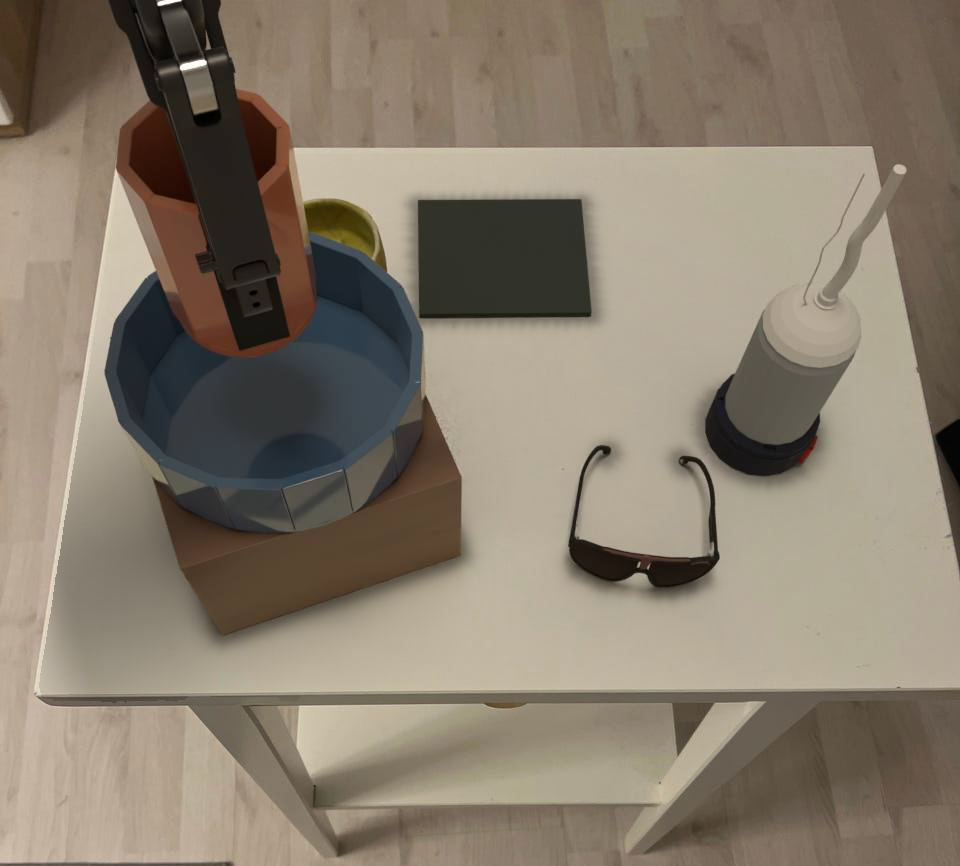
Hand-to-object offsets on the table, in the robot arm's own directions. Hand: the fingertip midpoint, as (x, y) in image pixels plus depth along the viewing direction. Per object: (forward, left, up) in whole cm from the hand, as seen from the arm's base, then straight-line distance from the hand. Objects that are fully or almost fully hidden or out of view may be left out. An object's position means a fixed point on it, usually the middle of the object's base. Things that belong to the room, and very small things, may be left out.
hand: (240, 276), depth 50 cm
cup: (0, 0, -2) cm, 2 cm away
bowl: (0, 0, -12) cm, 12 cm away
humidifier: (+7, +35, -23) cm, 42 cm away
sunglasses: (+11, +23, -23) cm, 34 cm away
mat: (-15, +22, -23) cm, 35 cm away
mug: (-15, +6, -23) cm, 28 cm away
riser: (0, 0, -23) cm, 23 cm away
